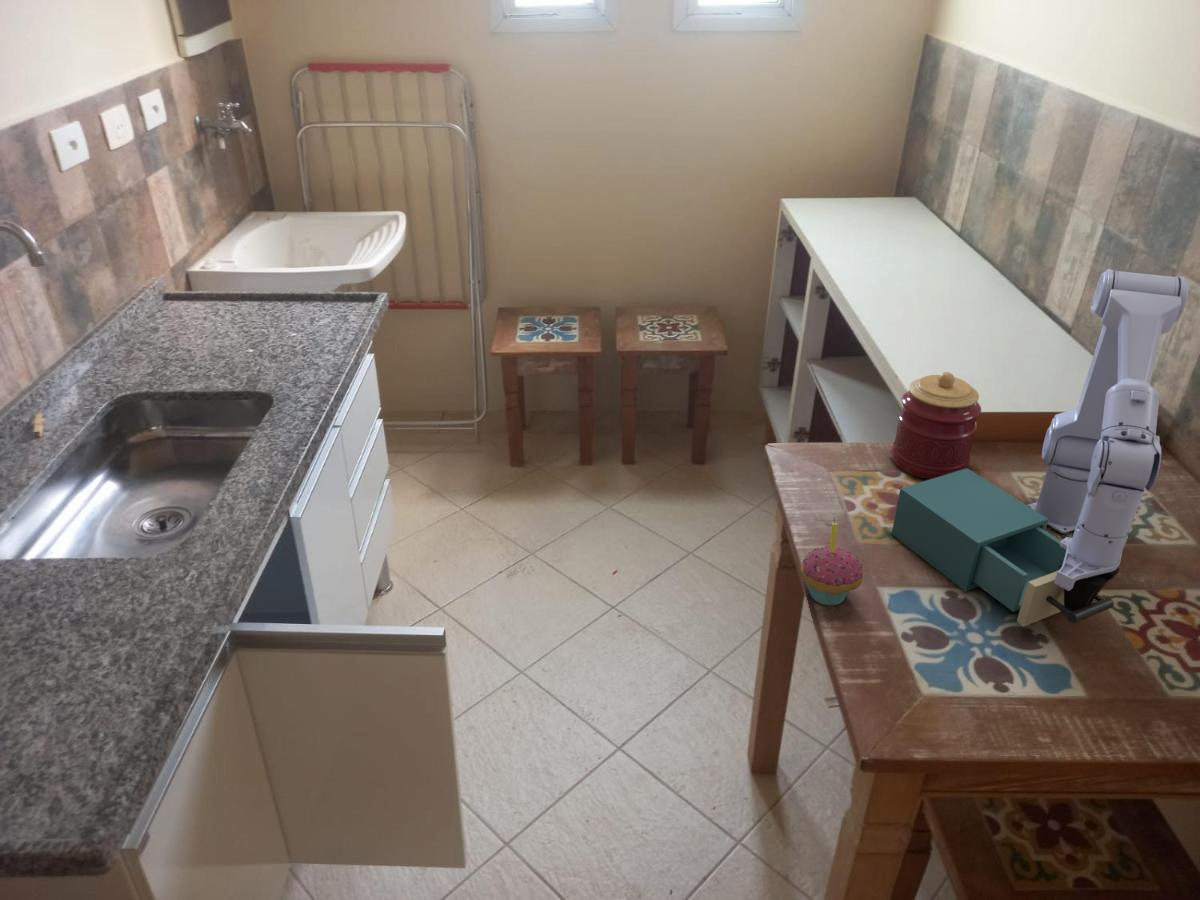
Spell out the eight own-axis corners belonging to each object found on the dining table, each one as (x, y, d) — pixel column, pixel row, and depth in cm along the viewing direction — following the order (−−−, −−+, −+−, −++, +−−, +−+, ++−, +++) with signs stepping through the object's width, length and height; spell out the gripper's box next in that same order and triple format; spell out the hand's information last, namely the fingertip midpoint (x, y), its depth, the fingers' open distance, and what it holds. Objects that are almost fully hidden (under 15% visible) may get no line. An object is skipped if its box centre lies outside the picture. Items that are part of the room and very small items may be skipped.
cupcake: (790, 578, 129) (799, 510, 122) (847, 574, 129) (859, 507, 123) (807, 617, 121) (818, 547, 115) (867, 613, 122) (881, 543, 116)
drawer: (1119, 622, 118) (1134, 582, 115) (1053, 649, 114) (1067, 609, 111) (1006, 544, 134) (1017, 507, 130) (944, 566, 129) (953, 528, 126)
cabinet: (1034, 566, 130) (1048, 518, 126) (965, 591, 126) (978, 543, 121) (956, 513, 143) (967, 468, 138) (891, 534, 138) (900, 488, 133)
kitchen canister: (956, 489, 149) (978, 396, 140) (881, 468, 155) (897, 378, 146) (975, 456, 158) (996, 367, 149) (903, 437, 164) (919, 351, 155)
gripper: (1099, 492, 117) (1073, 572, 124) (1042, 531, 109) (1017, 615, 116) (1155, 515, 112) (1124, 598, 119) (1099, 558, 104) (1069, 644, 111)
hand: (1075, 608), depth 117 cm, fingers closed, pressing on drawer
